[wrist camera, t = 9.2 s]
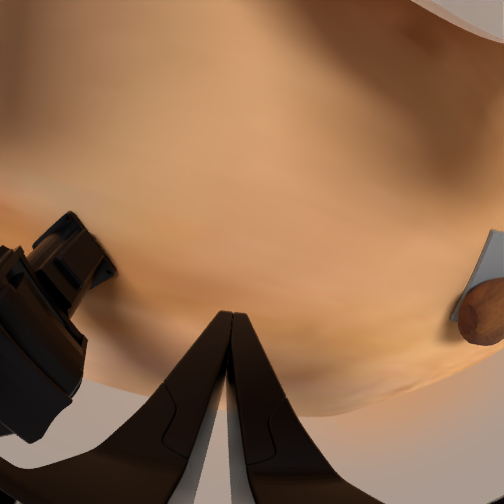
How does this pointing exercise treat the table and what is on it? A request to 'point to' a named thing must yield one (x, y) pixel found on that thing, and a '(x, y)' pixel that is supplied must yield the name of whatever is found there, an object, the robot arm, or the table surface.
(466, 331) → the wooden figurine
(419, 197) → the table surface
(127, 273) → the table surface
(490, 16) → the flanged gear
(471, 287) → the felt mat
